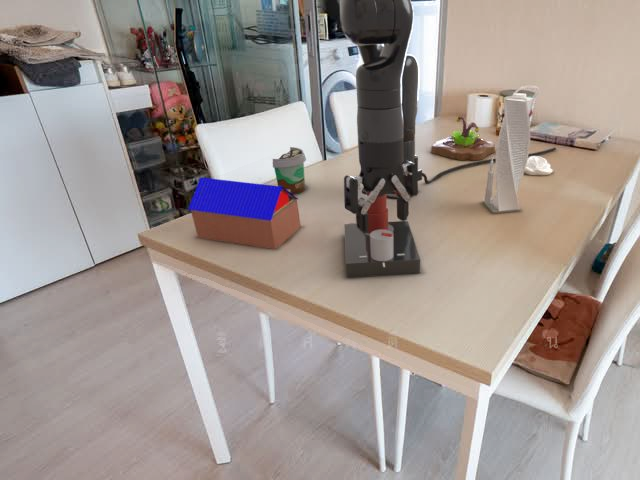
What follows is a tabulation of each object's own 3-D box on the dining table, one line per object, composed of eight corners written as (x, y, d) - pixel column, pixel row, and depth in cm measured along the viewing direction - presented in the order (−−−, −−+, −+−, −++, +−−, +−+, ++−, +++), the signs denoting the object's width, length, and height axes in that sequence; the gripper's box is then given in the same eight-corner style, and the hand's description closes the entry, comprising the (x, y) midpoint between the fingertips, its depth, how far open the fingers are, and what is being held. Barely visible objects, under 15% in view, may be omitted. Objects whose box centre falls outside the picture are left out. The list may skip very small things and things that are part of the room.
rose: (534, 149, 142) (561, 156, 136) (532, 164, 145) (558, 171, 139) (514, 156, 137) (542, 163, 131) (512, 170, 139) (539, 178, 133)
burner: (381, 220, 101) (381, 220, 101) (400, 231, 97) (400, 230, 97) (355, 228, 98) (355, 227, 98) (373, 239, 93) (373, 239, 93)
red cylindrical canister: (367, 223, 100) (365, 176, 94) (390, 225, 99) (389, 177, 93) (362, 233, 95) (360, 184, 90) (386, 235, 95) (385, 185, 89)
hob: (345, 236, 102) (344, 223, 100) (407, 233, 103) (407, 220, 101) (346, 283, 85) (345, 268, 83) (421, 278, 86) (421, 264, 85)
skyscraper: (513, 200, 119) (529, 82, 104) (527, 212, 113) (546, 88, 97) (482, 203, 118) (494, 83, 102) (494, 215, 111) (509, 89, 96)
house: (276, 249, 96) (266, 196, 90) (195, 237, 101) (181, 186, 95) (302, 226, 106) (296, 177, 99) (228, 216, 111) (217, 169, 104)
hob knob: (366, 259, 86) (365, 235, 84) (376, 249, 90) (375, 226, 87) (388, 263, 85) (388, 239, 82) (397, 252, 89) (397, 230, 86)
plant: (452, 140, 168) (454, 108, 162) (501, 149, 159) (505, 115, 153) (422, 153, 155) (423, 118, 149) (474, 163, 145) (477, 127, 139)
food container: (299, 198, 121) (294, 160, 115) (277, 197, 122) (271, 159, 116) (315, 183, 131) (312, 147, 125) (295, 181, 132) (290, 146, 126)
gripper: (401, 123, 81) (401, 209, 90) (331, 137, 74) (339, 228, 83) (428, 132, 76) (426, 222, 85) (356, 147, 69) (361, 243, 78)
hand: (383, 225), depth 84 cm, fingers open, 8 cm apart
